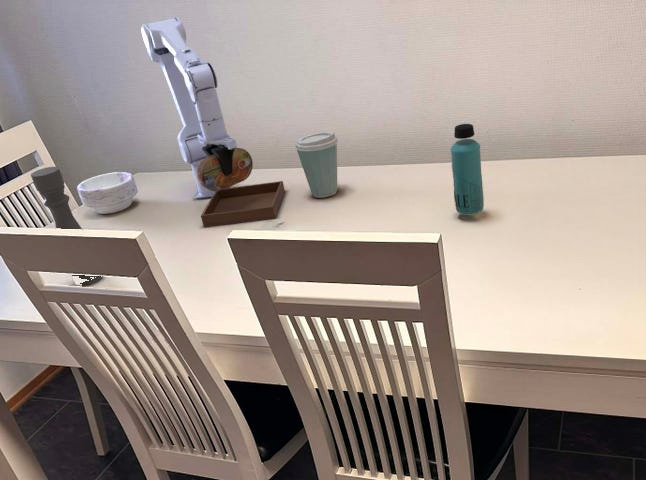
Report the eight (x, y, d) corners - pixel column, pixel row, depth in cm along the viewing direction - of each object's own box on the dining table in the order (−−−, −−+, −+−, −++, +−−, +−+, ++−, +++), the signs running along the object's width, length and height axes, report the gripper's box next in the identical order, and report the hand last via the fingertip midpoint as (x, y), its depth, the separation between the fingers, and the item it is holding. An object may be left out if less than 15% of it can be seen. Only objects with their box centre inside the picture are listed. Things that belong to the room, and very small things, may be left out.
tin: (206, 196, 173) (198, 163, 168) (199, 193, 175) (191, 160, 170) (256, 176, 181) (250, 144, 176) (248, 173, 183) (242, 141, 178)
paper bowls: (152, 197, 199) (143, 170, 195) (116, 219, 188) (106, 191, 184) (112, 196, 206) (102, 170, 201) (75, 217, 195) (64, 190, 190)
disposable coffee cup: (298, 201, 180) (286, 142, 172) (316, 185, 188) (305, 129, 180) (335, 201, 176) (325, 141, 168) (352, 185, 184) (342, 127, 176)
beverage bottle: (487, 209, 158) (482, 119, 147) (481, 221, 153) (476, 129, 142) (458, 209, 161) (452, 121, 150) (452, 221, 156) (444, 131, 145)
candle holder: (78, 275, 160) (34, 169, 147) (105, 271, 160) (63, 164, 147) (71, 288, 155) (25, 178, 142) (99, 283, 155) (55, 173, 142)
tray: (219, 200, 190) (216, 189, 188) (285, 191, 188) (282, 180, 186) (203, 227, 175) (200, 215, 173) (275, 218, 173) (272, 206, 171)
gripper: (181, 120, 171) (196, 174, 179) (212, 126, 162) (227, 183, 169) (205, 112, 175) (220, 165, 182) (237, 117, 165) (251, 173, 173)
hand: (225, 173), depth 176 cm, fingers closed on tin, 2 cm apart
